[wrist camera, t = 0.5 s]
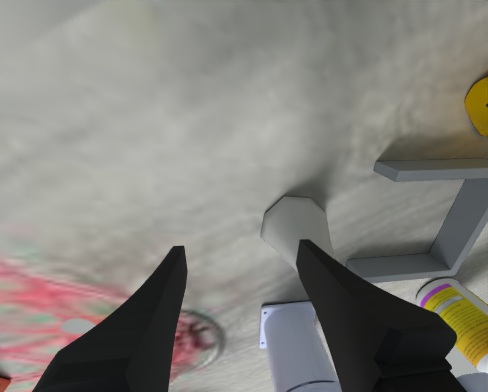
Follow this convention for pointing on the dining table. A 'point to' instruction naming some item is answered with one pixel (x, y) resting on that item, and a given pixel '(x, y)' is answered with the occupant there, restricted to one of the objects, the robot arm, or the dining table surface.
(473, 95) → the figure statuette
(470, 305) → the supplement bottle
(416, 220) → the dining table surface
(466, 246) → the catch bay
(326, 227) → the flask
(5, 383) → the cracker box
